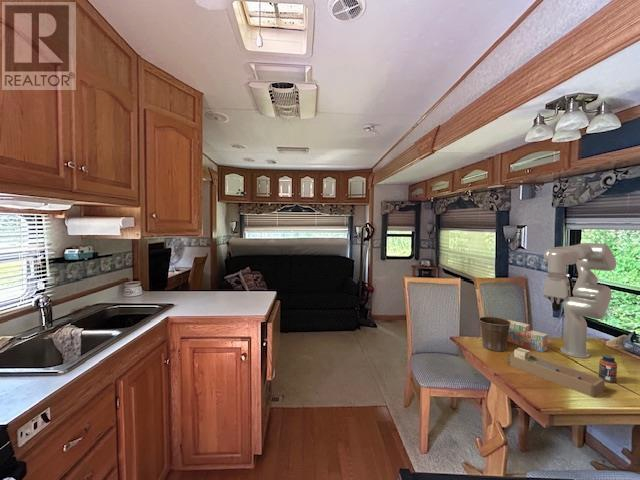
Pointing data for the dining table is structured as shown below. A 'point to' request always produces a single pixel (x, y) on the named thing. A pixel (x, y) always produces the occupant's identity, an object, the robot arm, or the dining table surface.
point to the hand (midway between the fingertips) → (556, 310)
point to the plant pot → (494, 333)
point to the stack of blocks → (526, 336)
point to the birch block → (522, 354)
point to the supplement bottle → (608, 368)
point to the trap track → (560, 374)
